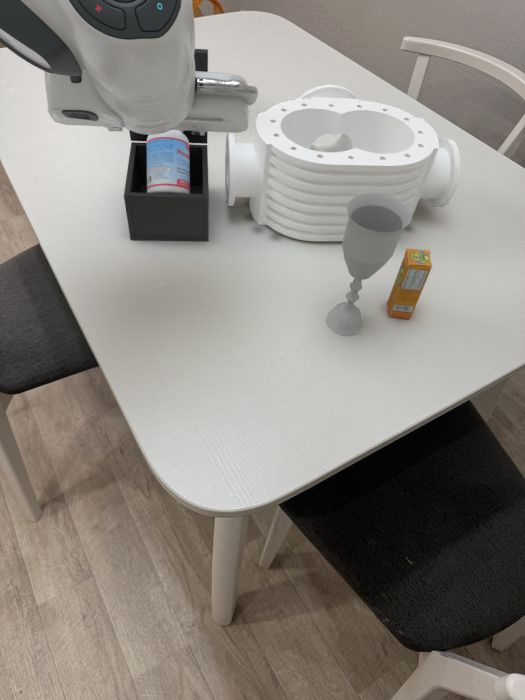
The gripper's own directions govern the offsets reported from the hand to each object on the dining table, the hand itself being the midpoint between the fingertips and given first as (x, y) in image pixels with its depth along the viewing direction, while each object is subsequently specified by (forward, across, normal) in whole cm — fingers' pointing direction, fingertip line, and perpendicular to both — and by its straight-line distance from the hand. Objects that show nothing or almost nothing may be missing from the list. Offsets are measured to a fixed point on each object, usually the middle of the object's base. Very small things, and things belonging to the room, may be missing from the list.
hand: (157, 126), depth 60 cm
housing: (+24, -26, +4) cm, 36 cm away
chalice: (+5, -24, +23) cm, 34 cm away
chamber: (+21, 0, +7) cm, 22 cm away
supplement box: (+6, -32, +22) cm, 39 cm away
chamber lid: (+14, 0, -8) cm, 16 cm away
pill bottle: (+14, 0, +6) cm, 15 cm away
